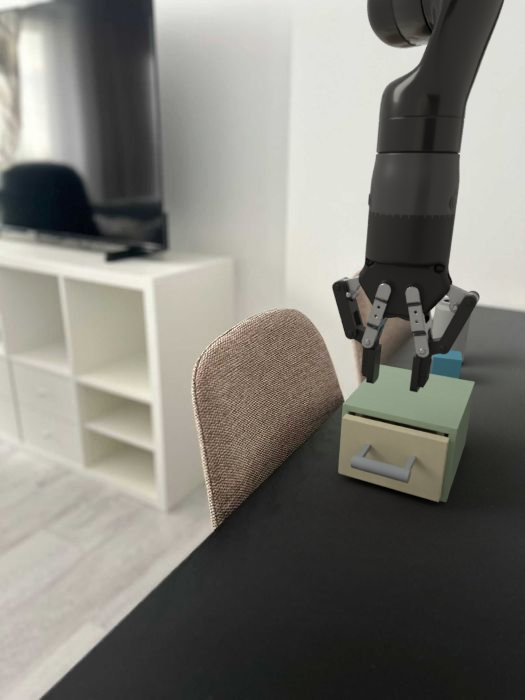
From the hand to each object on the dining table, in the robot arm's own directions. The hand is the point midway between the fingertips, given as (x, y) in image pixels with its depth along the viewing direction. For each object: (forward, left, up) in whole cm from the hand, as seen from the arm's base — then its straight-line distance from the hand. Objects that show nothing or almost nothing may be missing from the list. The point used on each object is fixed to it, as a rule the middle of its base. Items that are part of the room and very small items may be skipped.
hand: (393, 384), depth 51 cm
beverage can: (-31, -39, -14) cm, 52 cm away
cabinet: (-7, -8, -14) cm, 18 cm away
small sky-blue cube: (-26, -31, -14) cm, 43 cm away
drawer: (-4, -5, -13) cm, 15 cm away
